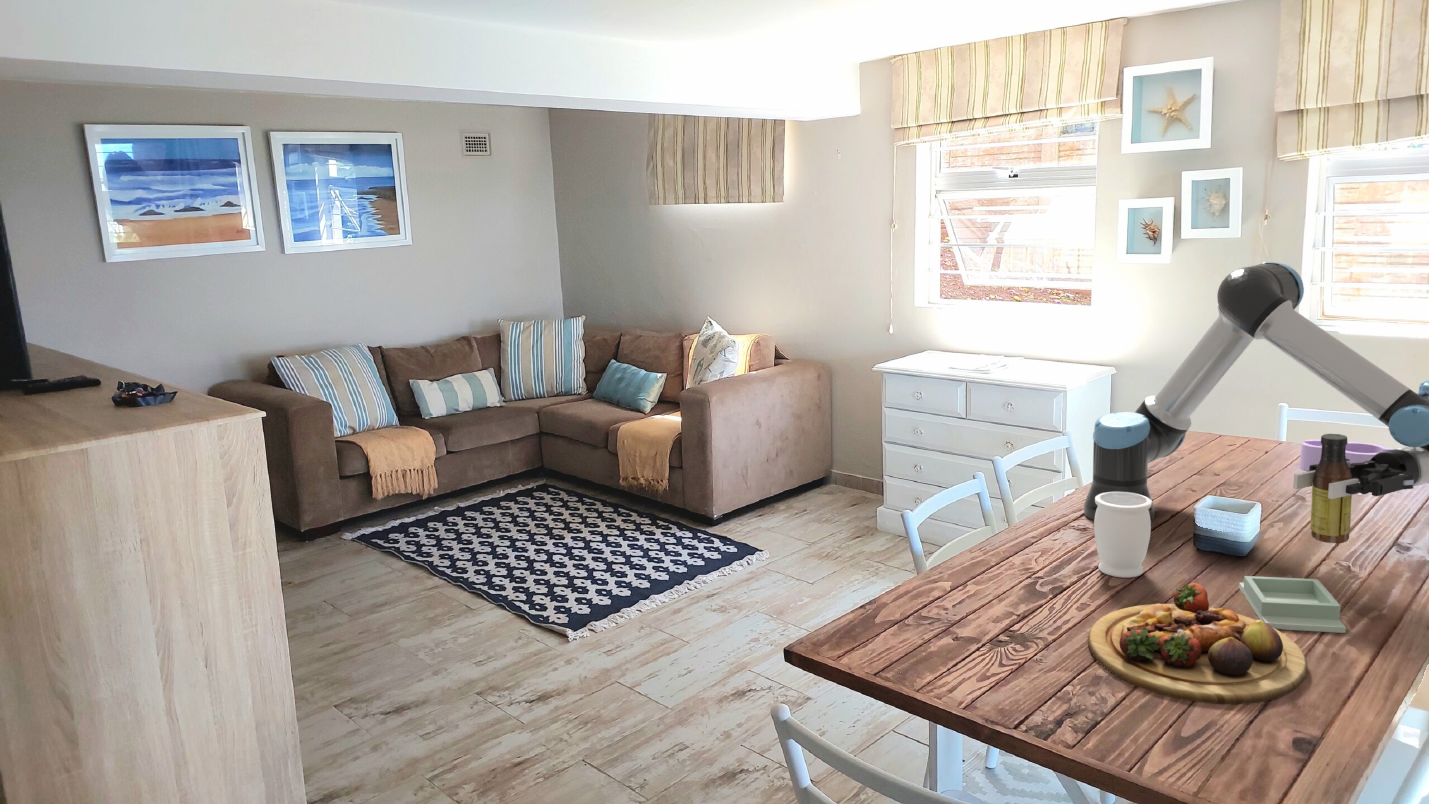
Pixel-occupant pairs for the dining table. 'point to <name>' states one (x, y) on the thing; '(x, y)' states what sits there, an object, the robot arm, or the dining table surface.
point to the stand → (1293, 603)
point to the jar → (1122, 532)
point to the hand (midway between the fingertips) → (1312, 486)
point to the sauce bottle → (1328, 513)
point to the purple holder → (1353, 452)
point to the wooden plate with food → (1197, 651)
